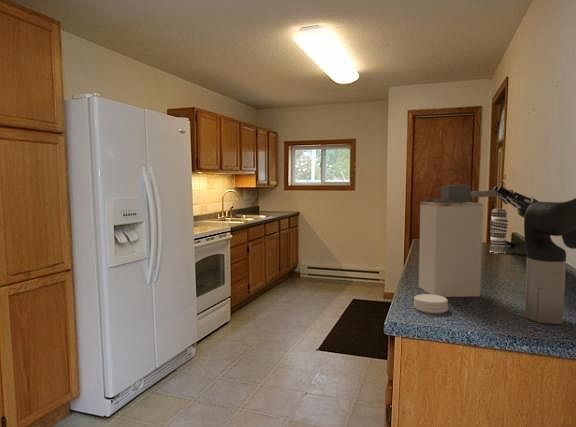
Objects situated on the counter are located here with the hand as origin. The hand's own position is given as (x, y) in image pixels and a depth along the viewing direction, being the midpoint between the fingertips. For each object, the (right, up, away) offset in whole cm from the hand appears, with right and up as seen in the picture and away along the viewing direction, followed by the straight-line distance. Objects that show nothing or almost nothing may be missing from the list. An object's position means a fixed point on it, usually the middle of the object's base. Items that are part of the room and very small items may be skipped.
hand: (496, 188), depth 141 cm
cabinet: (-17, -37, +2) cm, 41 cm away
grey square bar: (-7, -4, 0) cm, 8 cm away
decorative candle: (+46, -31, +85) cm, 102 cm away
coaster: (-30, -39, -18) cm, 52 cm away
